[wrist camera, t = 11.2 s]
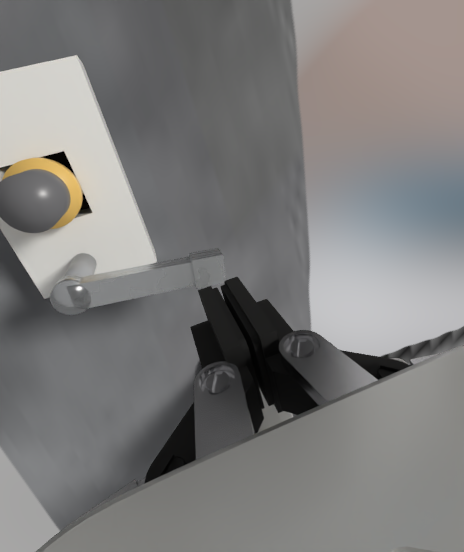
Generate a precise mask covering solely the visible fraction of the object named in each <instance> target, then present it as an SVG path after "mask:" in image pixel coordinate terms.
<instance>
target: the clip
mask: <svg viewBox="0 0 464 552" xmlns="http://www.w3.org/2000/svg"><path fill="white" fill-rule="evenodd" d="M224 281H226V276H225V267H224V258H223V254H222V253H221V251H220V250H219V249H218V248H215V249H210V250H204V251H199V252H194V253H189V257H185V258H180V259H174V260H169V261H164V262H158V263H153V264H148V265H142V266H137V267H132V268H126V269H121V270H116V271H111V272H105V273H100V274H95V275H89V276H84V277H80V276H76V275H68V276H65V277H62V278H61V279H59V280H58V281H57V282H56V284H55V286H54V287H53V289H52V291H51V294H50V302H51V304H52V306H53V307H54V308H55V309H56V310H57V311H58V312H60V313H63V314H67V315H76V314H80V313H82V312H84V311H85V310H86V309H87V308H92V307H96V306H101V305H106V304H111V303H115V302H120V301H125V300H130V299H134V298H139V297H144V296H149V295H153V294H158V293H163V292H168V291H172V290H177V289H182V288H187V287H191V286H196V289H199V288H203V287H208V286H213V285H218V284H222V283H224Z"/></svg>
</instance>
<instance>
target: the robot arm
mask: <svg viewBox="0 0 464 552" xmlns="http://www.w3.org/2000/svg"><path fill="white" fill-rule="evenodd" d="M224 283H225V285H223V286H221V290H222V293H223V297H224V299H223V298H222V296H221V294H220V292H219V290H218V288H214V289H212V287H211V286H209V287H206V288H204V289H201V290H198V292H199V295H200V298H201V301H202V304H203V307H204V310H205V313H206V316H207V319H208V321H205V322H202V323H200V324H197V325H194V326H192V327H191V331H192V334H193V338H194V341H195V345H196V348H197V351H198V355H199V358H200V362H201V365H202V370H201V371H200V372H199V373H198V374H197V376H196V378H195V380H194V403H193V404H192V406H191V407H190V409H189V410H188V412H187V413H186V415H185V416H184V417H183V419H182V420H181V422H180V423H179V425H178V426H177V428H176V429H175V431H174V432H173V434H172V435H171V436H170V438H169V439H168V441H167V442H166V444H165V445H164V447H163V448H162V450H161V451H160V453H159V454H158V456H157V457H156V458H155V460H154V461H153V463H152V464H151V466H150V468H149V470H148V472H147V475H146V477H145V478H143V479H142V480H141V481H139V482H137V481H136V480H133V481H132V482H130V483H129V484H127V485H126V486H124V487H123V488H121V489H120V490H118V491H117V492H116V493H114V494H113V495H111V496H110V497H108V498H107V499H105V500H104V501H102V502H101V503H99V504H98V505H97V506H95V507H94V508H92V509H91V510H89V511H88V512H86V513H85V514H83V515H82V516H80V517H79V518H78V519H76V520H75V521H73V522H72V523H70V524H69V525H67V526H66V527H65V528H64V529H63V530H61V531H60V532H59V533H58V534H56V535H55V536H54V537H52V538H51V539H50V540H49V541H48V542H47V543H45V544H44V545H43V546H42V547H41V548H40V549H38V550H37V551H36V552H464V345H462V346H460V347H457V348H454V349H451V350H449V351H446V352H444V353H441V354H436V355H431V356H426V357H421V358H416V359H411V360H410V364H406V363H404V362H402V361H398V360H394V359H388V358H383V357H377V356H371V355H365V354H359V353H352V352H347V351H341V350H339V349H337V348H336V347H335V346H333V345H332V344H331V343H330V342H328V341H327V340H326V339H324V338H323V337H322V336H320V335H319V334H317V333H315V332H312V331H309V330H299V331H293V330H292V329H291V328H290V326H289V325H288V324H287V323H286V322H285V320H284V319H283V318H282V317H281V315H280V314H279V313H278V312H277V311H276V309H275V308H274V307H273V306H272V304H271V303H270V302H269V301H268V300H267V299H265V300H262V301H259V302H257V303H256V301H255V300H254V299H253V297H252V296H251V295H250V293H249V292H248V291H247V289H246V288H245V286H244V285H243V284H242V282H241V281H240V280H239V278H238V277H235V278H232V279H229V280H226V281H224ZM224 300H225V301H224Z"/></svg>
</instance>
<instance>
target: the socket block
mask: <svg viewBox="0 0 464 552" xmlns="http://www.w3.org/2000/svg"><path fill="white" fill-rule="evenodd" d="M63 151H64V152H65V154H66V156H67V158H68V161H69V163H70V165H71V167H72V169H73V171H74V174H75V176H76V178H77V179H78V181H79V183H80V185H81V188H82V191H83V193H84V195H85V197H86V200H87V202H88V204H89V206H90V208H87V209H84V210H80V211H79V212H78V214H77V215H76V217H75V218H74V219H73V220H72V221H71V222H70V223H68V224H67V225H65V226H63V227H60V228H56V229H49V230H47V231H44V232H40V233H26V232H22V231H19V230H17V229H14V228H13V227H11V226H9V225H8V224H7V223H6V222H4V221H3V220H2V218H1V217H0V229H1V231H2V233H3V234H4V236H5V237H6V239H7V241H8V242H9V244H10V245H11V247H12V248H13V250H14V252H15V253H16V255H17V256H18V258H19V260H20V261H21V263H22V264H23V266H24V268H25V269H26V271H27V272H28V274H29V275H30V277H31V279H32V280H33V282H34V283H35V285H36V287H37V288H38V290H39V291H40V293H41V295H42V296H43V298H44V299H46V298H49V297H50V294H51V291H52V289H53V287H54V286H55V284H56V282H57V281H58V280H59V279H61V278H62V277H65V276H68V275H76V276H80V277H84V276H89V275H95V274H100V273H105V272H111V271H116V270H121V269H126V268H132V267H137V266H142V265H148V264H152V263H155V262H157V259H156V254H155V250H154V247H153V245H152V242H151V239H150V237H149V234H148V232H147V229H146V226H145V224H144V221H143V219H142V216H141V213H140V211H139V208H138V206H137V203H136V200H135V198H134V195H133V193H132V190H131V187H130V185H129V182H128V180H127V177H126V174H125V172H124V169H123V167H122V164H121V161H120V159H119V156H118V154H117V151H116V148H115V146H114V143H113V141H112V138H111V135H110V133H109V130H108V128H107V125H106V122H105V120H104V117H103V115H102V112H101V109H100V107H99V104H98V102H97V99H96V96H95V94H94V91H93V89H92V86H91V83H90V81H89V78H88V76H87V73H86V71H85V68H84V65H83V63H82V62H81V61H80V59H79V58H78V56H77V55H76V56H71V57H67V58H62V59H58V60H53V61H48V62H44V63H39V64H34V65H30V66H25V67H21V68H16V69H11V70H7V71H2V72H0V182H1V181H2V179H3V176H4V174H5V172H6V171H7V170H8V169H9V168H10V167H11V166H10V165H13V164H15V163H17V162H19V161H21V160H25V159H29V158H38V157H39V158H40V157H44V156H48V155H51V154H55V153H59V152H63Z"/></svg>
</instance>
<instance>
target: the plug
mask: <svg viewBox="0 0 464 552" xmlns="http://www.w3.org/2000/svg"><path fill="white" fill-rule="evenodd" d="M82 202H83V192H82V188H81V185H80V183H79V181H78V179H77V178H76V176H75V175H74V174H73V173H72V172H71V171H70V170H69V169H68V168H67V167H65V166H64V165H62V164H61V163H59V162H56V161H54V160H51V159H47V158H39V157H38V158H29V159H25V160H21V161H19V162H17V163H15V164H13V165H12V166H11V167H10V168H9V169H8V170H7V171H6V172H5V174H4V176H3V179H2V181H1V182H0V217H1V218H2V220H3V221H4V222H6V223H7V224H8V225H9V226H11V227H13V228H14V229H17V230H19V231H22V232H26V233H40V232H44V231H47V230H49V229H56V228H60V227H63V226H65V225H67V224H68V223H70V222H71V221H72V220H73V219H74V218H75V217H76V215H77V214H78V212H79V211H80V209H81V206H82Z"/></svg>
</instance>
